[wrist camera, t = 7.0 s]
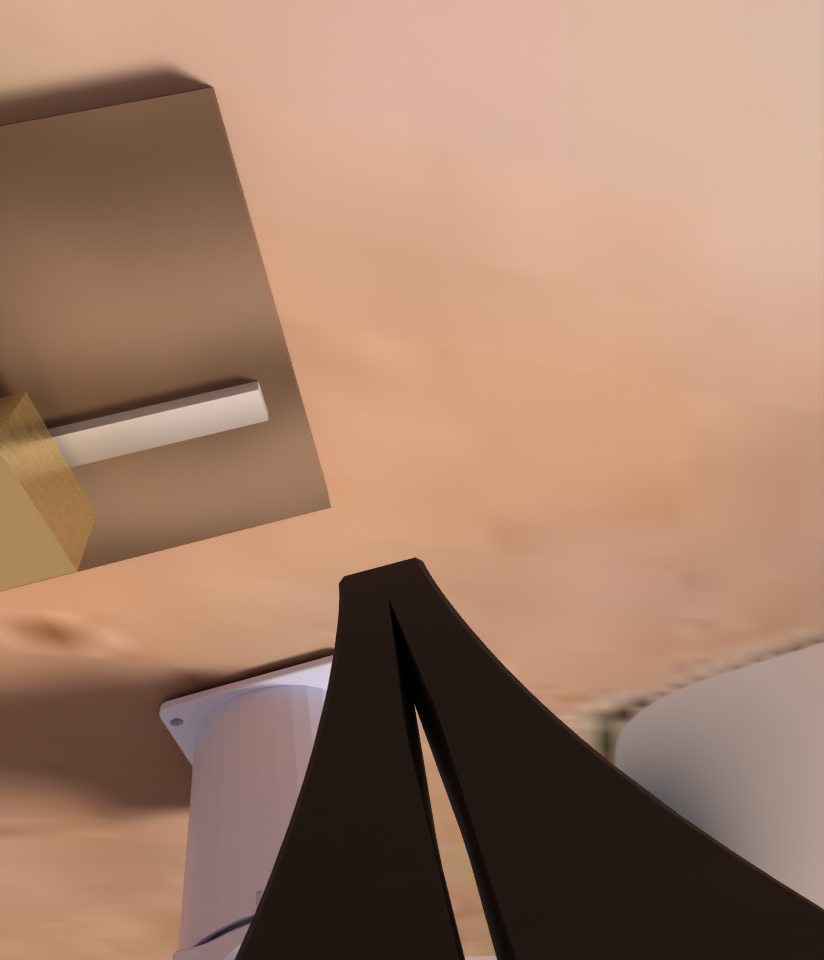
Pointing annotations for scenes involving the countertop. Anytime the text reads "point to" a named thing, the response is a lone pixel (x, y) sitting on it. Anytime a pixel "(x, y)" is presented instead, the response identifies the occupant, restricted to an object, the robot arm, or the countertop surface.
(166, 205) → the gauge board
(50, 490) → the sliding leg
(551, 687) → the countertop surface
